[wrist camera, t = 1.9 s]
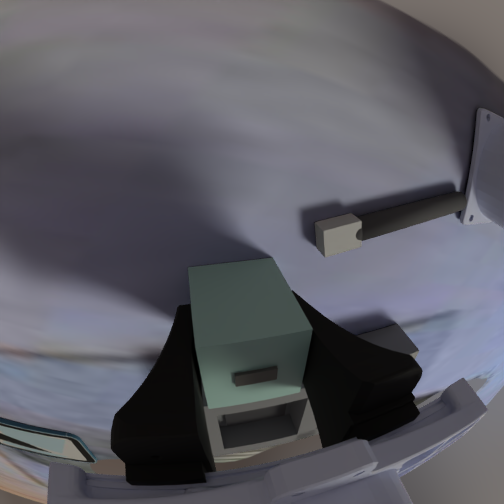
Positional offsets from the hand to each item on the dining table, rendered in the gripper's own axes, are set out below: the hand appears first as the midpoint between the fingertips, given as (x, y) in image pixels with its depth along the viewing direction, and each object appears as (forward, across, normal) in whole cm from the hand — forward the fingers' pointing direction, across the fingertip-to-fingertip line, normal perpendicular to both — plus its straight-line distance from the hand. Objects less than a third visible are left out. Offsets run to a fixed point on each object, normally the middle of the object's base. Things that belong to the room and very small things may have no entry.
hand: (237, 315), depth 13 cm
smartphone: (+2, +23, +17) cm, 29 cm away
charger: (+1, 0, 0) cm, 1 cm away
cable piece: (+2, -10, -4) cm, 11 cm away
